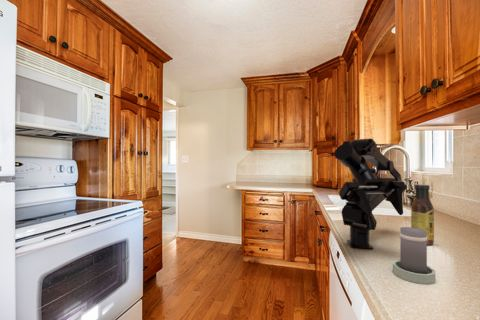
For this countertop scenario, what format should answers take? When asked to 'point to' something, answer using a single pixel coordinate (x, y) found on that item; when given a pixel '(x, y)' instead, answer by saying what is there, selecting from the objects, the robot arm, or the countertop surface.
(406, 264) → the grey upright cylinder
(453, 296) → the countertop surface
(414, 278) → the collar ring
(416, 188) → the sauce bottle
